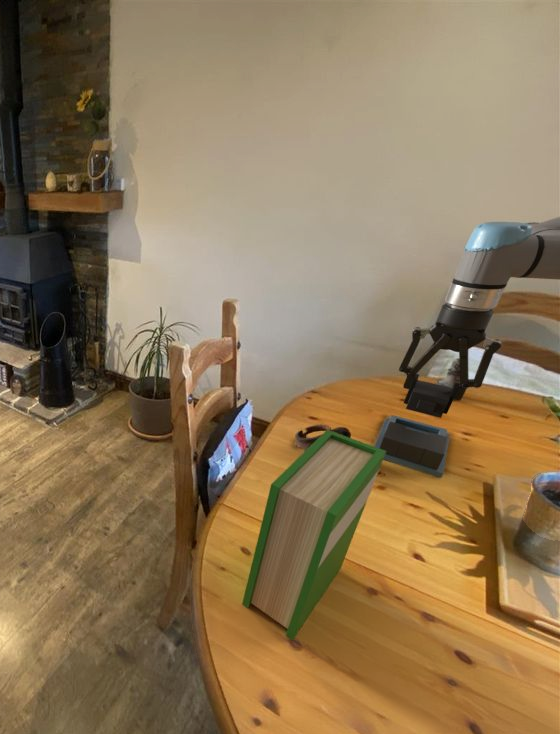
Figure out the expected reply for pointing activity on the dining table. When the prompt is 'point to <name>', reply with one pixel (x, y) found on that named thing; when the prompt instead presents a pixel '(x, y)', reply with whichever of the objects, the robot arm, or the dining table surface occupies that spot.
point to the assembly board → (416, 428)
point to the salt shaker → (451, 375)
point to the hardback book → (310, 527)
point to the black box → (429, 398)
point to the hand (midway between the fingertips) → (425, 406)
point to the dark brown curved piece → (306, 442)
